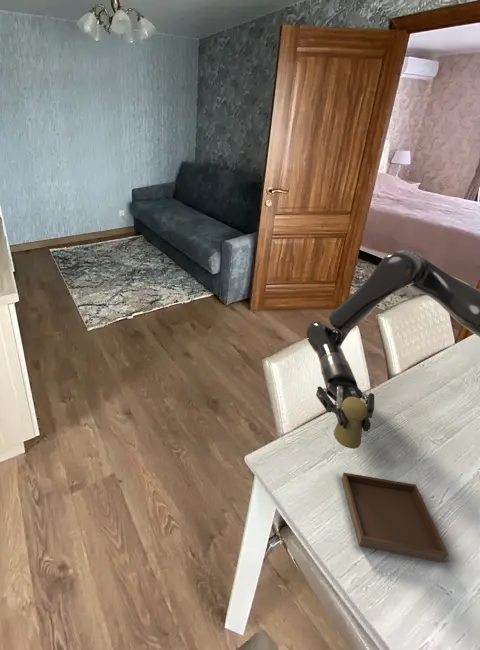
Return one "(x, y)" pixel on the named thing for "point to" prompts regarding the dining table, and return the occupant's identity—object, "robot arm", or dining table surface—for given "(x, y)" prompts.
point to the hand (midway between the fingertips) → (356, 427)
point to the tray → (392, 517)
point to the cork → (351, 423)
